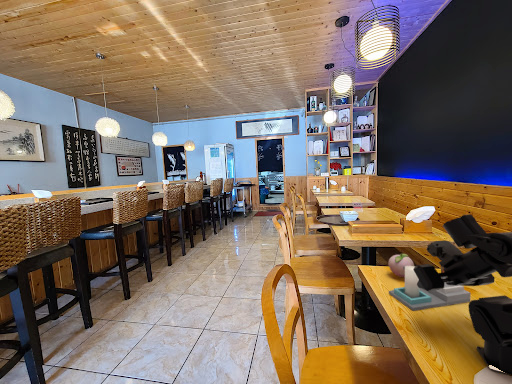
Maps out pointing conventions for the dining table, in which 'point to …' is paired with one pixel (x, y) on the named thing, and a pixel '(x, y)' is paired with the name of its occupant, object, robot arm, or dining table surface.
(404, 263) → the decorative fruit
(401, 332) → the dining table surface
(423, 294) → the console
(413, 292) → the white rounded cylinder
